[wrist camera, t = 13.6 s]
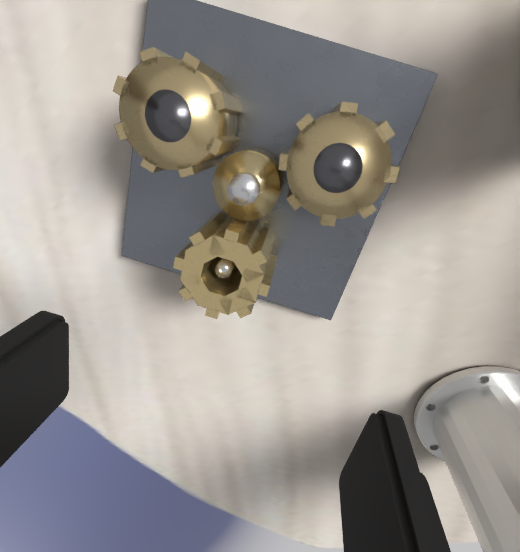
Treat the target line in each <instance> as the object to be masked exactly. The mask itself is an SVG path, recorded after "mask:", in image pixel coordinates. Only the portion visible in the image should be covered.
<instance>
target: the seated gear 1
mask: <svg viewBox="0 0 520 552" xmlns="http://www.w3.org/2000/svg"><path fill="white" fill-rule="evenodd" d="M139 53H140V56H141V59H142V63H140V64H139V65H137V66H136V67H135V68H134V69H133V70H132V71H131V73H130V74H129V75H128V77H127V78H125V77H122V76H118V77H117V80H116V83H115V86H114V89H113V91H114V92H115V93H117V94H118V95H120V102H119V112H120V119H121V123H118V124H115V125H114V126H115V128H116V131H117V134H118V136H119V139H120V140H128V141H129V143H130V144H131V146H132V147H133V148H134V150H135V151H136V152H137V153H138V154H139V155H140V156H141V157H142V158H143V160H142V162H141V166H142V167H144V168H146V169H147V170H149V171H150V172H152V173H155V172H159V171H162V170H166V169H167V170H178V171H179V174H180V177H181V178H182V177H185V176H189V175H193V174H196V173H198V172H201V171H203V170H206V169H209V168H211V167H214V166H216V165H217V161H216V158H218V157H220V156H221V155H222V154H224V153H227V152H231V151H235V150H236V148H237V146H238V144H239V142H240V140H241V139H240V138H238V137H236V136H235V135H236V132H237V126H238V116H237V115H239V114H242V113H244V112H243V108H242V104H241V100H240V99H238V98H236V97H234V96H231V94H230V93H229V91H228V90H227V89H226V87H225V86H224V85H223V84H222V82H223V80H224V78H225V77H224V76H223V75H221V74H220V73H218V72H217V71H215V70H214V69H212V68H211V67H209V66H208V65H206V64H204V63H203V62H201V61H200V60H198V59H197V58H195V57H194V56H192V55H191V54H189V53H187V52H185V54H184V57H183V59H182V60H179V59H177V58H173V57H172V56H170V55H168V54H166V53H164V52H162V51H161V50H159V49H157V48H155V47H152V48H149V49H146V50H144V51H141V52H139Z"/></svg>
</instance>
